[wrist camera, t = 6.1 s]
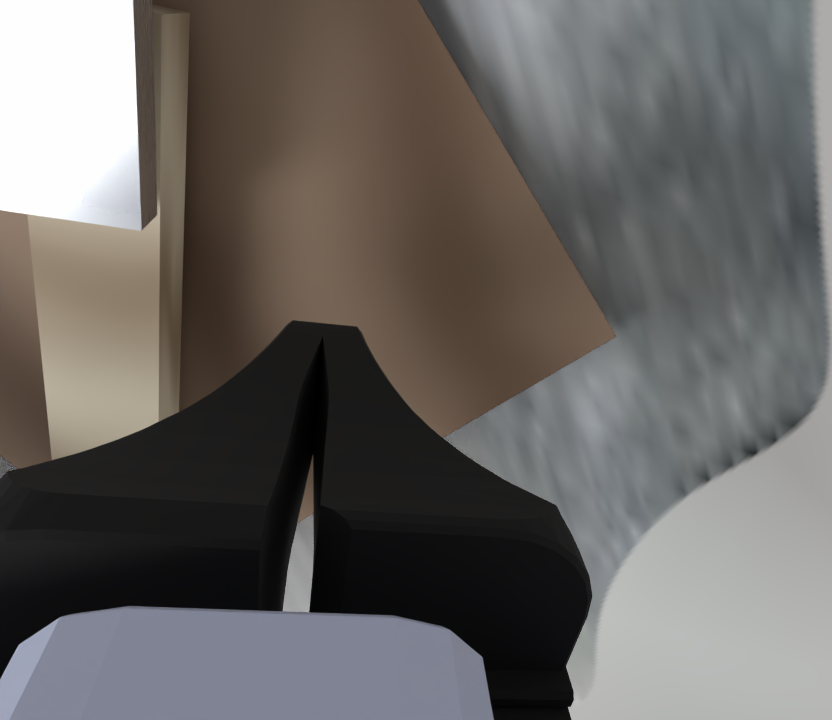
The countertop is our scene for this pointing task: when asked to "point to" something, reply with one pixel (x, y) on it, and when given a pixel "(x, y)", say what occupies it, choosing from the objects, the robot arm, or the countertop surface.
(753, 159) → the countertop surface
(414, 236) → the wooden cutting board
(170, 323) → the link
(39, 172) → the keeper
